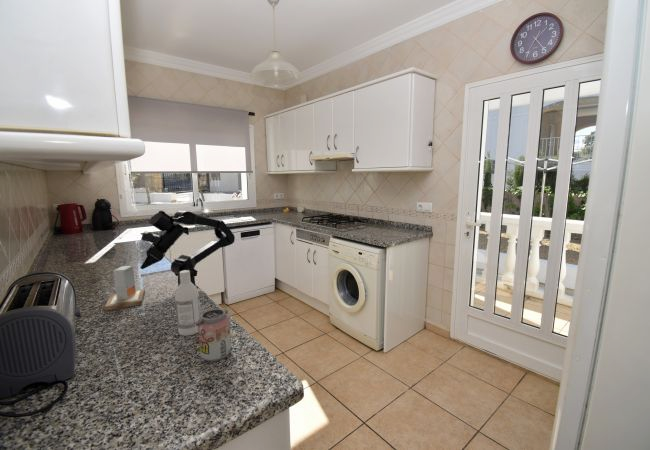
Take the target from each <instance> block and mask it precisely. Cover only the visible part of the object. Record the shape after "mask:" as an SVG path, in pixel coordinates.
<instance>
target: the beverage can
mask: <svg viewBox="0 0 650 450" xmlns="http://www.w3.org/2000/svg"><path fill="white" fill-rule="evenodd" d="M228 312H229V311H228V309H226V308H225V309H222V308H212V309H207V310H205V311H204V312H202V313H201V315H200V319H198V321H197V322H196V323H195V325H196V326H198V333H197V334H198V343H199V350H200V352H199V353H200V357H201V359H202V360H205V361H206V362H219V361H221V360H222V359H224V358H226V357H227V356H228V355H229V354H230V353H231V351H232V339H231V328H230V319H229V317H228V316H227V314H228Z"/></svg>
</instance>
